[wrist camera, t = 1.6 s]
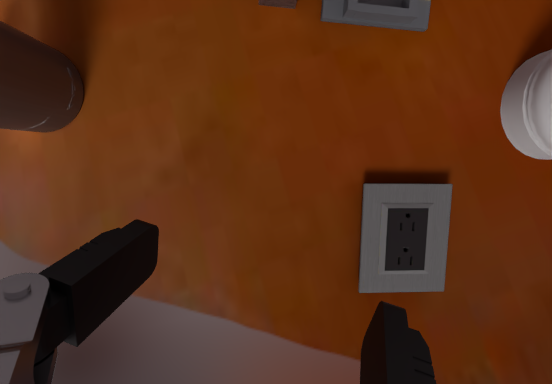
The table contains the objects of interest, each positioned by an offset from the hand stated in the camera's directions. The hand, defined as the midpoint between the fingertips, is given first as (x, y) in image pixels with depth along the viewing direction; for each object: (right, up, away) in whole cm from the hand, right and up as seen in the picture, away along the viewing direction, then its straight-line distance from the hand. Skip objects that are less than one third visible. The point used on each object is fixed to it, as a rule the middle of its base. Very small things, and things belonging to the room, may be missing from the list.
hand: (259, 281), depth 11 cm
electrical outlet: (+16, -2, +29) cm, 33 cm away
